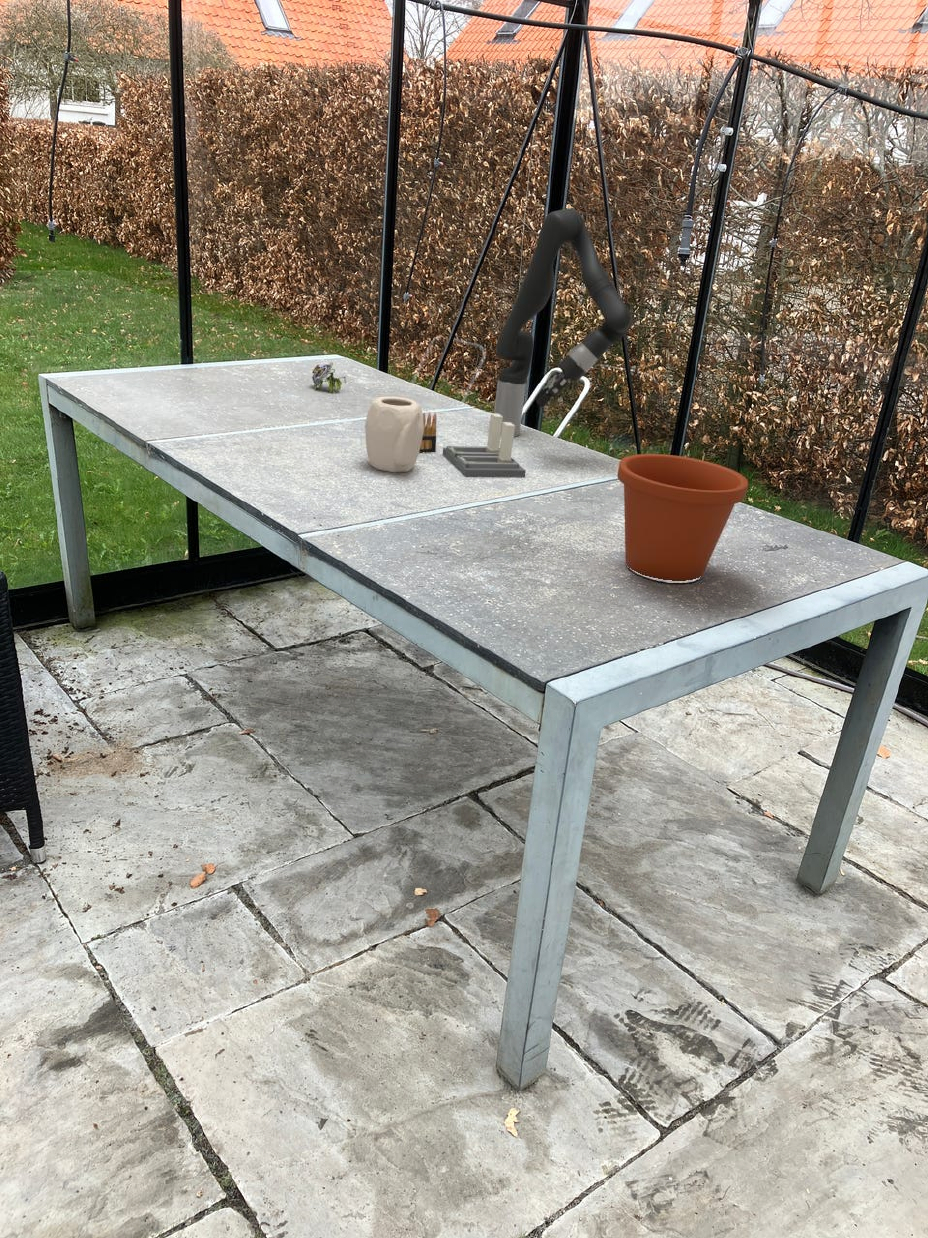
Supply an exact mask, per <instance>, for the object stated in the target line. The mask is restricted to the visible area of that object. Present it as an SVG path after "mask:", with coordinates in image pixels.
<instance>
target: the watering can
mask: <svg viewBox="0 0 928 1238" xmlns="http://www.w3.org/2000/svg"><path fill="white" fill-rule="evenodd" d="M421 407H422V406H421V405H420V404H419V403H418V402H416V401H415V400H413V399H411V398H406V397H401V396H379V397H377V398H375V399H374V400H373V401H372V402H371V404H370V407H369V409H368V411H367V414H366V419H365V424H364V429H365V430H364V431H365V433H364V434H365V445H366V448H365V449H366V453H367V457H368V462H369V464H370V466H372V467H373V468H375V469H376V470H379V471H386V472H390V473H400V472H403V473H406V472H409V471H410V470H411V469H413V468H414V466H415V464H416V462H417V459H418V456H419V454H420V453H419V451H420V446H421V442H422V437H423V432H424V422H423V411H422V408H421Z"/></svg>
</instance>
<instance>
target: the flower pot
mask: <svg viewBox="0 0 928 1238" xmlns="http://www.w3.org/2000/svg"><path fill="white" fill-rule="evenodd" d="M617 470H618V471H617V475H616V476H617V479H618V481H620V482H621V483H622V484H623V498H624V499H623V500H624V501H623V503H624V504H623V505H624V547H625V548H624V551H625V553H624V554H625V556H624V558H625V561H626V562H625V561H624V562H625V565H626V564H627V566H628V567H629V568H631V569H632V570H634V571H636V572H638V573H640V574H642V575H645V576H649V577H653V578H658V579H663V580H672V581H686V580H693V579H696V578H699V577H700V576H702V577H703V575H704V573H705V570H706V569H707V567H708V564H709V562H710V559H711V558H712V556H713V553H714V551H715V548H716V547H717V544H718V542H719V540H720V538H721V535H722V534H723V531H724V529H725V527H726V524H727V522H728V520H729V518H730V516H731V514H732V511H733V509H734V507H735V505H736V504H737V503H741V502H742V501H744V500H745V499H746V495H747V492H748V487H749V480H748V479H747V478H746V477H745V476H744V475H743V474H741V473H740V472H738V471H736V470H733V469H731V468H728V467H726V466H723V465H720V464H719V463H718V464H717V463H714V462H710V461H706V460H702V459H698V458H693V457H687V456H681V455H674V454H673V455H671V454H664V453H663V454H661V453H660V454H659V453H643V454H640V453H639V454H633V455H627V456H625V457H623V458H622V459H621V460H619V463H618V469H617ZM627 566H626V567H627Z"/></svg>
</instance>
